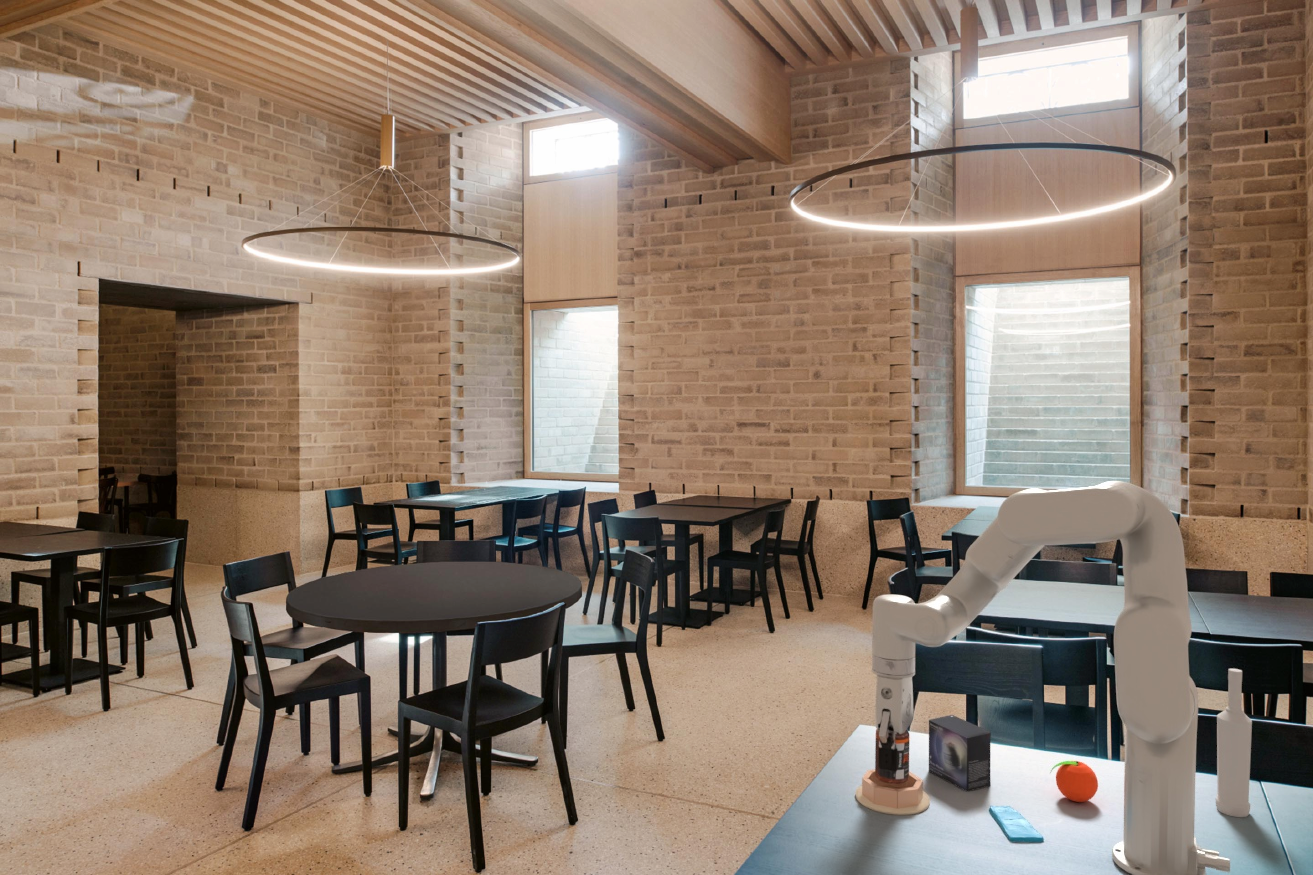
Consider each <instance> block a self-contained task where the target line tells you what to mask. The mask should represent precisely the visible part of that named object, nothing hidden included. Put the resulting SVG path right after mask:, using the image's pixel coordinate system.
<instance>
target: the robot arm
mask: <svg viewBox="0 0 1313 875" xmlns="http://www.w3.org/2000/svg"><path fill="white" fill-rule="evenodd" d="M1117 540H1119V541H1120V543H1121V548H1122V574H1123V583H1124V585H1123V586H1124V590H1123V591H1124V603H1123V609H1122V610H1121V612H1120V613H1119V615H1118V617H1117V619H1116V621H1115V626H1114V631H1113V654H1114V655H1113V656H1114V673H1115V693H1116V695H1115V696H1116V705H1117V711H1118V715H1119V717H1120V719H1121V721H1122V723H1123V725H1124V726H1125V738H1124V739H1125V742H1124V743H1125V744H1124V745H1125V746H1124V780H1123V782H1124V784H1123V785H1124V786H1123V787H1124V788H1123V789H1124V792H1123V794H1124V795H1123V840H1122V841H1120V842H1117V843H1115V845H1113V847H1112V849H1111V850H1112V851H1111V852H1112V854H1111V855H1112V856H1111V857H1112V859H1113V861H1114V863H1115V864H1116V865H1117V866H1118V867H1119V868H1120V869H1122V870H1123V871H1125V872H1126V873H1128V874H1130V875H1206V871H1207V870H1206V868H1210V869H1213V870H1216V871H1221V872H1225V873H1230V872H1231V861H1230V858H1227V857H1223V856H1220V851H1217V850H1214V849H1212V850H1211V849H1205V848H1202V847H1201V846H1199V845H1197V838H1196V836H1195V820H1196V819H1195V817H1196V816H1195V815H1196V813H1195V812H1196V811H1195V810H1196V809H1195V808H1196V772H1197V771H1196V768H1197V767H1196V766H1197V739H1198V737H1197V735H1198V733H1197V732H1198V720H1199V718H1198V717H1199V694H1198V689H1197V687H1196V683H1195V682H1194V680H1193V678H1192V677H1191V676H1190V664H1189V661H1190V660H1189V643H1190V641H1191V640H1190V639H1191V636H1192V632H1193V630H1192V629H1193V628H1192V620H1191V616H1190V606H1189V595H1188V578H1187V570H1186V559H1185V547H1184V540H1183V536H1182V533H1181V529H1180V527H1179V524H1178V522H1177V519H1176V518H1175V515H1174V514H1173V513H1172V511H1171V510H1170V509H1169V507H1168V506H1167V505H1166V504H1165V503H1164V502H1163V501H1162V500H1161V499H1160V498H1159V497H1158V496H1156V495H1155V494H1154V493H1152V492H1150V491H1149V490H1147V489H1145V488H1143V487H1141V486H1139V485H1135V484H1133V483H1130V482H1128V481H1127V482H1126V481H1122V480H1111V481H1110V480H1108V481H1105V482H1101V483H1100V484H1096V485H1094V486H1088V487H1087V486H1086V487H1077V488H1076V487H1075V488H1067V489H1056V490H1046V489H1043V488H1039V487H1038V488H1036V487H1034V488H1033V487H1032V488H1026V489H1024V490H1020V491H1017V492H1015V493H1013V494H1011V495H1009V496H1008V497H1006V499H1005V500H1004V501H1003V502H1002V503H1001V504H1000V506H999V509H998V512H997V516H996V518H994V519H993V521H992V522H991V523H990V524H989V525H988V526H987V528H986V529H985V530H984V531H983V532H982V533H981V534H980V535H979V536H978V537H977V538H976V539H975V540H974V541H973V543H972V544H970V546H969V547H968V548H967V550H966V553H965V559H964V562H963V564H962V565H961V568H960V569H959V570H958V571H957V573H956V574H955V575H954V576H953V577H952V578H951V580H949V581H948V583H947V584H946V585H945V586H944V587H943V588H942V589H941V590H940V591H939V592H938V593H937V595H936V596H934V597H932V598H931V599H929V600H927V601H924V602H921V603H915V601H914V600H913V599H912V598H911V597H909V596H907V595H902V594H881V595H878V596H876V597H875V598H874V600H873V603H872V635H871V636H872V649H871V650H872V652H871V656H872V657H871V659H872V660H871V661H872V662H871V672H872V674H875V675H876V685H875V708H874V710H875V711H874V712H875V713H874V714H875V715H874V718H875V719H874V722H875V728H876V729H877V730H879V768H880V769H884V770H889V771H894V772H895V771H897V752H898V749H897V748H896V738H897V732H898V733H899V734H903V733H904V732H905V731H906V730H908V729H909V727H910V725H911V724H912V723H913V720H914V692H913V690H914V688H913V677H914V676H915V675H916V644H917V645H921V646H924V647H929V648H937V647H941V646H944V645H945V644H946V643H948V642H950V641H951V640H952V639H953V638H955V637H957V636H958V635H960V633H962V632H963V631H964V630H966V628H968V626H969V625H970V624H971V623H972V622H973V621H974V620H975V619H976V618H977V617H978V616H979V615H980V614H981V612H983V610H985V609H986V607H987V606H988V605H989V604H990V603H991V602H992V601H993V600H994V599H995V597H997V595H998V594H999V593H1001V592H1002V591H1003V590H1004V589H1005V588H1006V587H1007V586H1008V584H1010V583H1011V581H1012V580H1013V579H1015V577H1017V575H1018V574H1019V573H1020V572H1021V571H1022V570H1023V569H1024V567H1025V566H1026V565H1027V564H1028V563H1029V562H1030V561H1031V560H1032V559H1033V558H1034V557H1035V556H1036V555H1037V554H1038V553H1039V552H1040V551H1041V550H1042V549H1043V548H1044V547H1045V546H1060V545H1063V546H1064V545H1078V544H1079V545H1081V544H1098V543H1099V544H1100V543H1109V542H1114V541H1117ZM889 727H893V728H894V731H891V730H889ZM888 734H892V740H891V737H888Z"/></svg>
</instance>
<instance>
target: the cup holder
mask: <svg viewBox="0 0 1313 875" xmlns="http://www.w3.org/2000/svg"><path fill="white" fill-rule="evenodd" d="M855 799H856V801H857V802H858V803H859V804H861V805H862V806H864V807H865V808H867V809H870V810H872V811H874V812H877V813H882V814H886V815H894V816H910V815H916V814H920V813H922V812H925V811H926V810H927V809H928V808H929V807H930V803H931V802H930V801H931V798H930V796H929V795H928V793H927V792H926V791H924V780H923V779H921V778H920V777H918V776H917V775H916V774H914V773H913V772H912V771H909V778H908V781H906V782H905V783H902V784H890V783H885V782H882V781H880V780H879V779H878V778H877V777H876V775H875V768H873V769H868V770H867V771H866V772H865V774H864V775H863V777H862V778H861V785H859V786H858V787H857V788H856V790H855Z"/></svg>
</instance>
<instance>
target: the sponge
mask: <svg viewBox="0 0 1313 875" xmlns="http://www.w3.org/2000/svg"><path fill="white" fill-rule="evenodd" d="M988 812H989V815H990V816H992V818H993V819H994V820H995V822H996V823H997V824H998V825H999V827H1000V828H1001V830H1002V831H1003V833H1004V835H1005V836H1006V837H1007V838H1008V840H1009V841H1010V842H1018V843H1019V842H1022V843H1025V842H1027V843H1028V842H1029V843H1030V842H1031V843H1044V840H1045V839H1044V836H1043V835H1042V834H1041V833H1039V831H1038V830H1036V829H1035V828H1034V827H1033V824H1031V823H1030V822H1029V821H1028V820H1027V819H1026V818H1025V817H1024V816H1023V815H1022V814H1021V813H1020V812H1019V811H1018V810H1016V809H1014V808H1013V807H1011V806H1010V805H1001V806H1000V805H990V806H989V809H988Z"/></svg>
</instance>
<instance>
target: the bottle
mask: <svg viewBox="0 0 1313 875" xmlns="http://www.w3.org/2000/svg"><path fill="white" fill-rule="evenodd" d="M1227 671H1228V672H1227V673H1228V674H1227V680H1228V686H1227V687H1228V688H1227V689H1228V691H1227V692H1228V693H1227V695H1228V696H1227V706H1226V707H1225V709H1224V710H1223V711H1221V712H1219V713H1218V714H1217V715H1216V723H1217V724H1216V745H1217V747H1216V750H1217V751H1216V756H1217V758H1216V770H1217V772H1216V774H1217V775H1216V778H1217V780H1216V781H1217V782H1216V783H1217V788H1216V789H1217V795H1216V797H1215V806H1216V809H1217V811H1218V812H1220V813H1221V814H1224V815H1226V816H1230V817H1235V818H1246V817H1248V816H1249V814H1250V811H1251V804H1250V801H1249V799H1250V798H1249V796H1250V779H1251V778H1250V776H1251V775H1250V774H1251V753H1252V749H1251V748H1252V732H1253V731H1252V729H1253V727H1252V726H1253V720H1252V719H1251V718H1250V717H1249V716H1248V715H1247V714H1246V713H1245V712H1244V709H1243V708H1242V694H1243V693H1242V692H1243V691H1242V686H1243V685H1242V684H1243V683H1242V682H1243V670H1242V669H1238V668H1228V670H1227Z"/></svg>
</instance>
